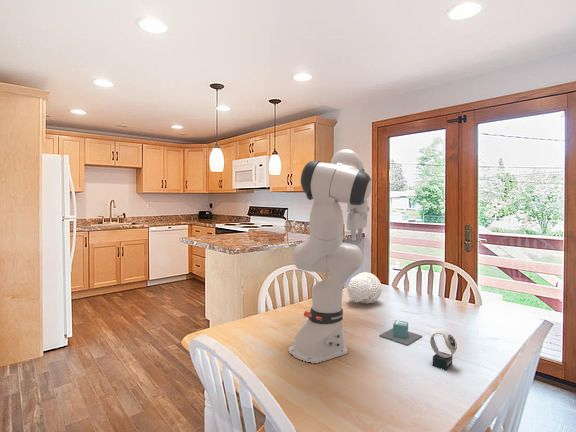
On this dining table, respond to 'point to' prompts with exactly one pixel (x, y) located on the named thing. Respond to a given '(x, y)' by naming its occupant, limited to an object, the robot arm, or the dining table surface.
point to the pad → (409, 340)
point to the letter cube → (400, 329)
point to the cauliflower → (364, 288)
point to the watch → (443, 358)
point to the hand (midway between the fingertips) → (357, 239)
